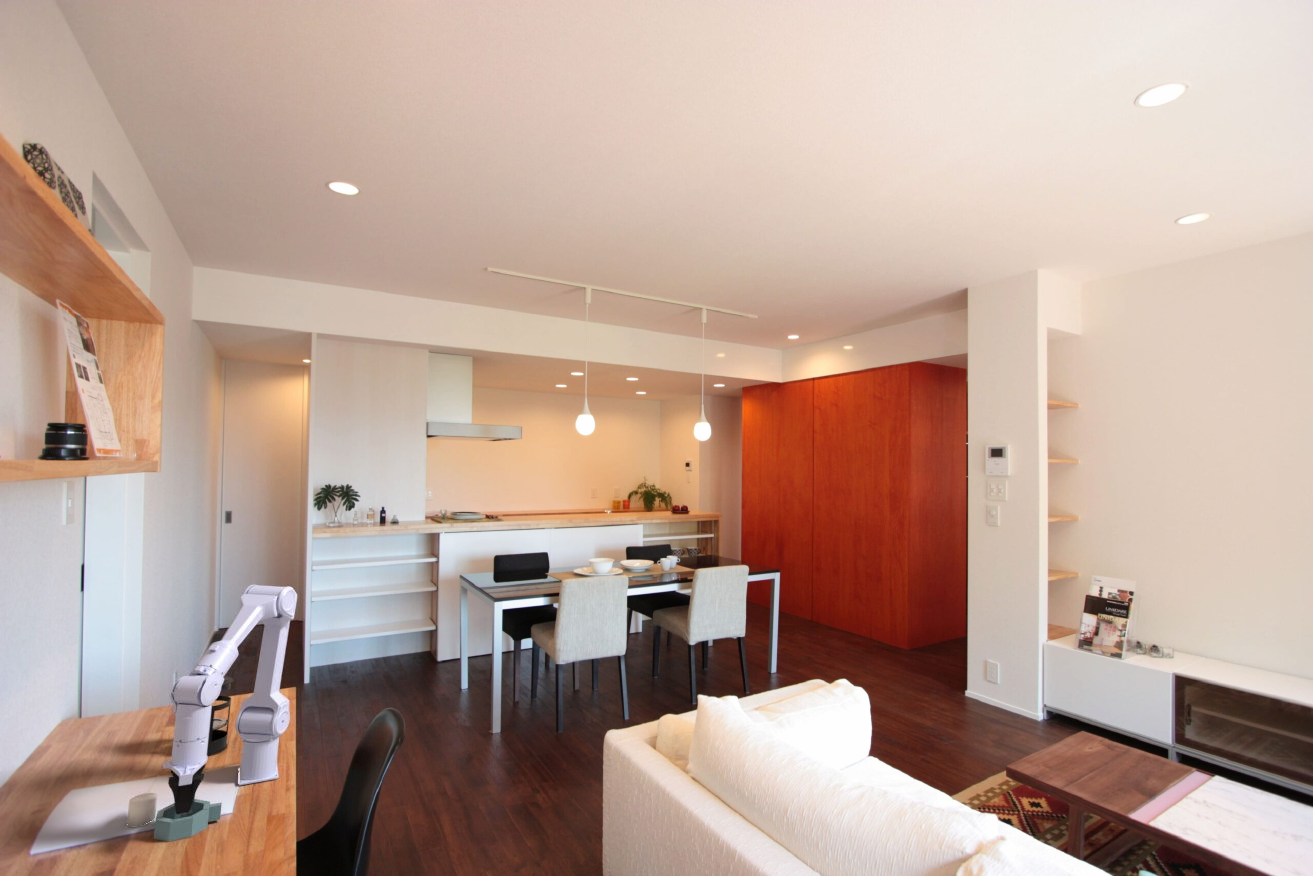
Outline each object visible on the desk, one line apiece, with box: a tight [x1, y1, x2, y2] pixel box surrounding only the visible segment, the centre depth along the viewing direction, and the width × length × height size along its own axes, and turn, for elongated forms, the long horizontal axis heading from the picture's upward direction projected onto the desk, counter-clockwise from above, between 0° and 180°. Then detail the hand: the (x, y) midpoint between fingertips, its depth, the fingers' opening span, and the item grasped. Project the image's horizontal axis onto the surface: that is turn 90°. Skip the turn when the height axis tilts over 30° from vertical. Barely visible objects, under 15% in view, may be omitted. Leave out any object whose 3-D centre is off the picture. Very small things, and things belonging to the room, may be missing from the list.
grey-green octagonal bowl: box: [153, 798, 223, 842], centre depth 125 cm, size 8×10×4 cm
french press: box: [207, 675, 234, 757], centre depth 161 cm, size 12×9×23 cm
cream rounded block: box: [126, 792, 158, 827], centre depth 127 cm, size 4×4×4 cm
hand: (183, 808), depth 125 cm, fingers closed on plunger, 3 cm apart
